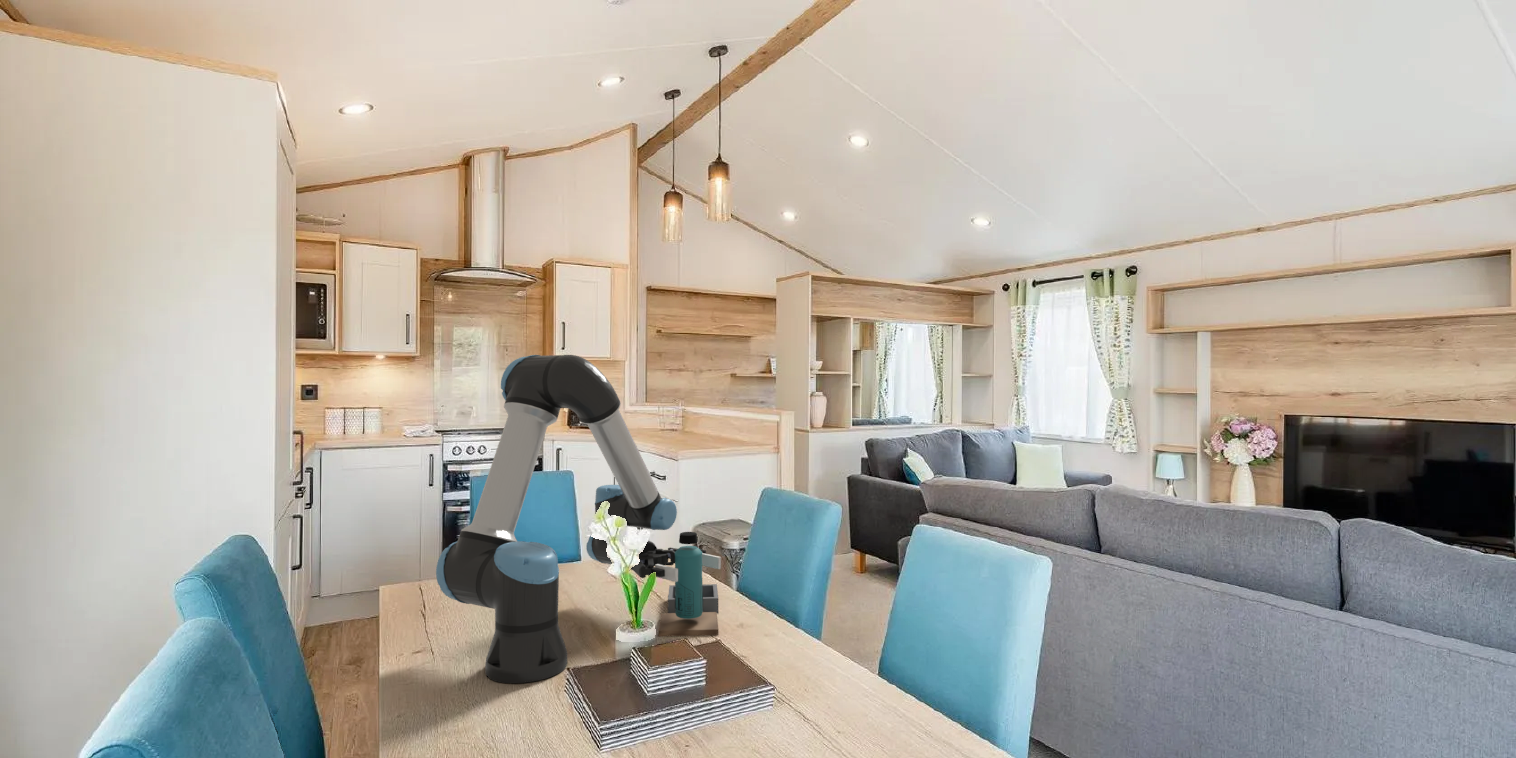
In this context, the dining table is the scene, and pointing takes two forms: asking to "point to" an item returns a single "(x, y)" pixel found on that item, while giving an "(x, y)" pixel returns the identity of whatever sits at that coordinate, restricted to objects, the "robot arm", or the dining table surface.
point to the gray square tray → (708, 598)
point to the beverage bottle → (688, 578)
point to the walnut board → (688, 625)
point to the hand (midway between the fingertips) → (699, 569)
